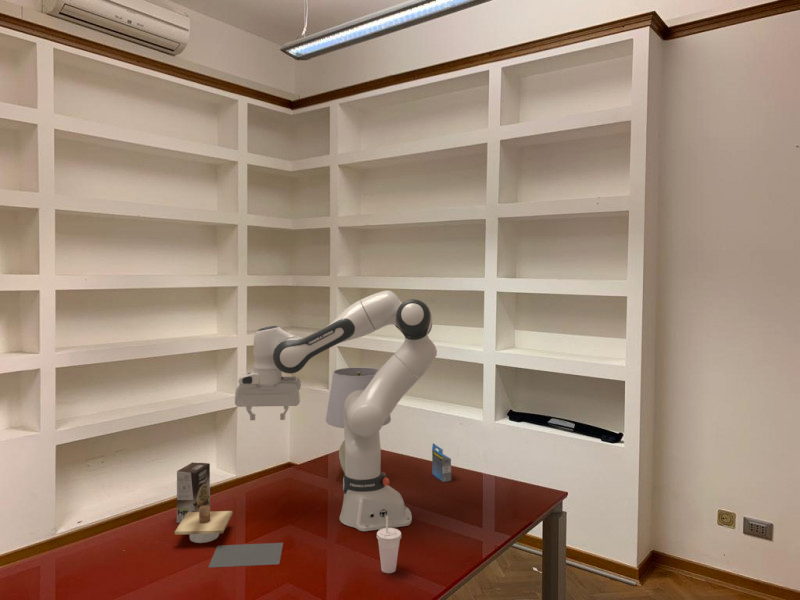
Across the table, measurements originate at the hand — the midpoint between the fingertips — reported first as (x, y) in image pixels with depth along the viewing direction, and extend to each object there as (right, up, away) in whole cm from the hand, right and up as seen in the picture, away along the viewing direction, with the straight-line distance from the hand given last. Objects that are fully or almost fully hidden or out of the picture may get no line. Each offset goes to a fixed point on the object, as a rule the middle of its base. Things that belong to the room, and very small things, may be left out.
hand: (267, 419), depth 187 cm
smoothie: (+39, -32, -36) cm, 62 cm away
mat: (+1, -31, -29) cm, 43 cm away
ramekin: (-14, -30, -19) cm, 38 cm away
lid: (-14, -26, -19) cm, 35 cm away
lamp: (+27, -28, +30) cm, 49 cm away
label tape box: (+58, -28, +31) cm, 72 cm away
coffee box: (-22, -30, -6) cm, 37 cm away
